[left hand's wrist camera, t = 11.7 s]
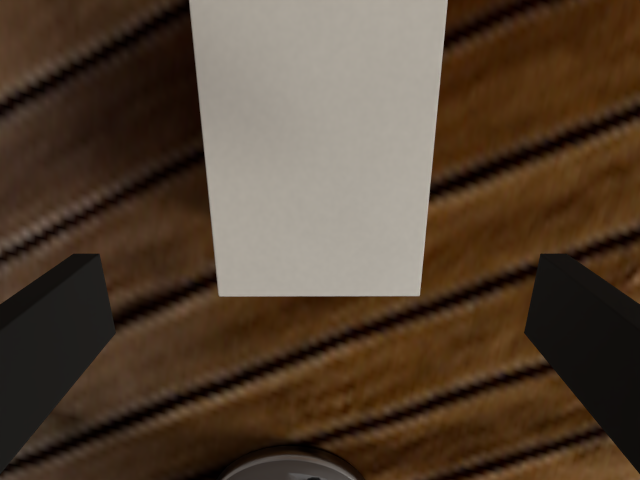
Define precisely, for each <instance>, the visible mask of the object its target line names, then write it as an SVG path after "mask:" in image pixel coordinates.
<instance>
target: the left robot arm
mask: <svg viewBox="0 0 640 480" xmlns="http://www.w3.org/2000/svg"><path fill="white" fill-rule="evenodd" d="M115 333H116V332H115V327H114V322H113V317H112V312H111V308H110V303H109V298H108V293H107V288H106V283H105V278H104V274H103V269H102V264H101V259H100V254H73V255H71V256H70V257H68V258H67V259H65V260H64V261H62V262H61V263H60V264H58V265H57V266H55V267H54V268H52V269H51V270H49V271H48V272H47V273H45V274H44V275H42V276H41V277H39V278H38V279H36V280H35V281H33V282H32V283H31V284H29V285H28V286H26V287H25V288H23V289H22V290H20V291H19V292H18V293H16V294H15V295H13V296H12V297H10V298H9V299H7V300H6V301H5V302H3V303H2V304H0V474H1V472H2V471H3V470H4V469H5V467H6V466H7V465H8V464H9V463H10V461H11V460H12V459H13V458H14V457H15V455H16V454H17V453H18V452H19V450H20V449H21V448H22V447H23V446H24V444H25V443H26V442H27V441H28V439H29V438H30V437H31V436H32V435H33V433H34V432H35V431H36V430H37V428H38V427H39V426H40V425H41V424H42V422H43V421H44V420H45V419H46V417H47V416H48V415H49V414H50V413H51V411H52V410H53V409H54V408H55V406H56V405H57V404H58V403H59V402H60V400H61V399H62V398H63V397H64V396H65V394H66V393H67V392H68V391H69V389H70V388H71V387H72V386H73V385H74V383H75V382H76V381H77V380H78V378H79V377H80V376H81V375H82V374H83V372H84V371H85V370H86V369H87V367H88V366H89V365H90V364H91V363H92V361H93V360H94V359H95V358H96V356H97V355H98V354H99V353H100V352H101V350H102V349H103V348H104V347H105V345H106V344H107V343H108V342H109V341H110V339H111V338H112V337H113V336H114V335H115ZM524 333H525V335H526V336H527V337H528V338H529V339H530V341H531V342H532V343H533V344H534V345H535V347H536V348H537V349H538V350H539V352H540V353H541V354H542V355H543V356H544V358H545V359H546V360H547V361H548V363H549V364H550V365H551V366H552V367H553V369H554V370H555V371H556V372H557V374H558V375H559V376H560V377H561V378H562V380H563V381H564V382H565V383H566V385H567V386H568V387H569V388H570V389H571V391H572V392H573V393H574V394H575V396H576V397H577V398H578V399H579V400H580V402H581V403H582V404H583V405H584V406H585V408H586V409H587V410H588V411H589V413H590V414H591V415H592V416H593V417H594V419H595V420H596V421H597V422H598V424H599V425H600V426H601V427H602V428H603V430H604V431H605V432H606V433H607V435H608V436H609V437H610V438H611V439H612V441H613V442H614V443H615V444H616V446H617V447H618V448H619V449H620V450H621V452H622V453H623V454H624V455H625V457H626V458H627V459H628V460H629V461H630V463H631V464H632V465H633V466H634V467H635V469H636V470H637V471H638V472H639V474H640V304H638V303H637V302H635V301H634V300H633V299H631V298H630V297H628V296H627V295H625V294H624V293H622V292H621V291H620V290H618V289H617V288H615V287H614V286H612V285H611V284H609V283H608V282H607V281H605V280H604V279H602V278H601V277H599V276H598V275H596V274H595V273H593V272H592V271H591V270H589V269H588V268H586V267H585V266H583V265H582V264H580V263H579V262H578V261H576V260H575V259H573V258H572V257H570V256H569V255H567V254H540V259H539V264H538V269H537V274H536V278H535V283H534V288H533V293H532V298H531V303H530V308H529V312H528V317H527V322H526V327H525V332H524ZM216 480H365V479H364V478H363V476H362V475H361V474H360V473H359V472H358V471H357V470H356V469H355V468H354V467H353V466H351V465H350V464H349V463H347V462H346V461H344V460H343V459H341V458H339V457H337V456H335V455H333V454H330V453H328V452H325V451H321V450H318V449H314V448H309V447H301V446H278V447H271V448H265V449H261V450H258V451H255V452H252V453H249V454H247V455H245V456H243V457H241V458H239V459H237V460H236V461H234V462H233V463H231V464H230V465H229V466H228V467H226V468H225V469H224V470H223V471H222V472H221V474H220V475H219V476H218V478H217V479H216Z"/></svg>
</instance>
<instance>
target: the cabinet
mask: <svg viewBox="0 0 640 480" xmlns="http://www.w3.org/2000/svg"><path fill="white" fill-rule="evenodd" d="M447 1H448V0H189V5H190V15H191V25H192V35H193V45H194V55H195V65H196V75H197V85H198V95H199V105H200V115H201V125H202V135H203V145H204V155H205V165H206V174H207V184H208V194H209V204H210V214H211V224H212V234H213V244H214V254H215V264H216V274H217V284H218V294H219V296H419V295H420V287H421V276H422V266H423V255H424V245H425V234H426V223H427V213H428V202H429V192H430V181H431V171H432V160H433V149H434V139H435V128H436V118H437V107H438V97H439V86H440V75H441V65H442V54H443V44H444V33H445V22H446V12H447Z"/></svg>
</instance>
